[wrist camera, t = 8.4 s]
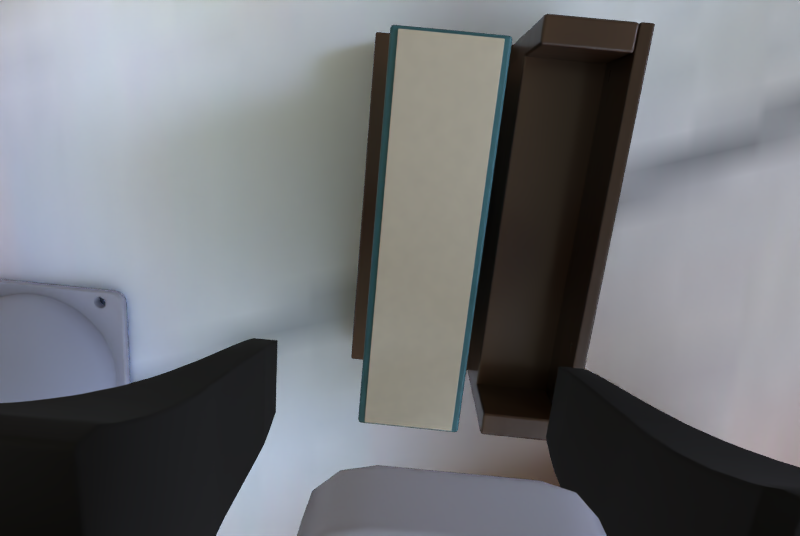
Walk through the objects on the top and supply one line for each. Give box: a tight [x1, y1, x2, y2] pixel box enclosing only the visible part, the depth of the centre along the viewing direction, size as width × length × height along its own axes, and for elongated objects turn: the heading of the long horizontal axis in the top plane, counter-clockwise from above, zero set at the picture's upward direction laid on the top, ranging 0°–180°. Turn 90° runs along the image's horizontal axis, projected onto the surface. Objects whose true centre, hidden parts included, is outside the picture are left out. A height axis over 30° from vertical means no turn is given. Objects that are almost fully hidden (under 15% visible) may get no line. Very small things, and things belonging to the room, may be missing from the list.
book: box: [358, 25, 512, 432], centre depth 17 cm, size 3×11×7 cm, turn 175°
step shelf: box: [351, 14, 655, 441], centre depth 18 cm, size 8×13×6 cm, turn 175°
